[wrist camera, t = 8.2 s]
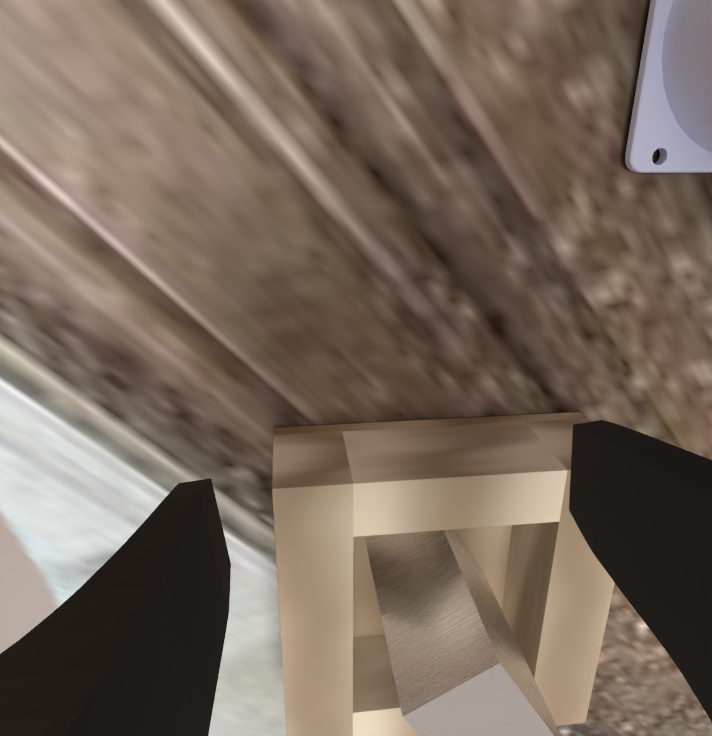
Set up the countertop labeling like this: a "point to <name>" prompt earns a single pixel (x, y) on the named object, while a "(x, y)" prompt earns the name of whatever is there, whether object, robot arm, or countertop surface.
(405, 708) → the brushed grey metal block
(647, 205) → the countertop surface
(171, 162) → the countertop surface
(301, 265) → the countertop surface
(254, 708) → the countertop surface
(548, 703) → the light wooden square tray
